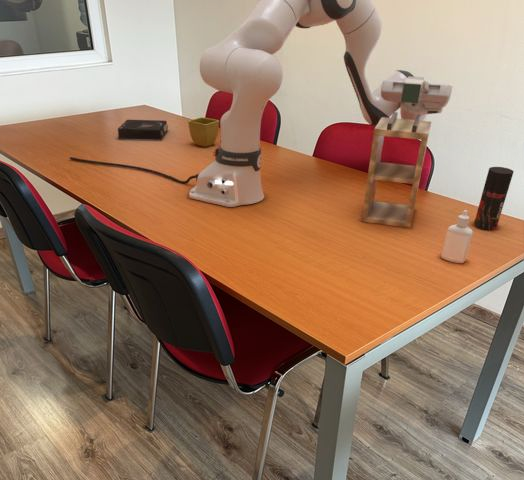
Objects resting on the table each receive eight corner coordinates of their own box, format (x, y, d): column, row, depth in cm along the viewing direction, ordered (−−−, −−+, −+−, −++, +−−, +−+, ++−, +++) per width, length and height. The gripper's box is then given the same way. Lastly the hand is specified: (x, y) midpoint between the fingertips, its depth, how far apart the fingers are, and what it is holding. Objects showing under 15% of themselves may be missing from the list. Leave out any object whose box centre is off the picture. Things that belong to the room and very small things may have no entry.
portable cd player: (161, 140, 205) (160, 130, 203) (119, 139, 205) (117, 128, 203) (168, 130, 219) (167, 120, 216) (128, 129, 219) (127, 119, 216)
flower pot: (220, 144, 202) (219, 120, 197) (206, 149, 196) (205, 124, 191) (202, 141, 206) (201, 117, 201) (188, 145, 200) (187, 121, 195)
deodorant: (494, 231, 137) (511, 175, 128) (471, 226, 140) (486, 170, 131) (498, 224, 141) (515, 169, 132) (476, 220, 144) (491, 165, 135)
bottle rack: (361, 221, 141) (375, 122, 126) (368, 204, 152) (382, 111, 137) (409, 228, 138) (429, 127, 123) (413, 210, 149) (432, 115, 134)
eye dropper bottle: (454, 265, 120) (467, 216, 113) (437, 256, 124) (449, 208, 117) (468, 262, 122) (482, 213, 115) (451, 253, 126) (463, 205, 119)
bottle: (418, 103, 134) (421, 84, 131) (400, 101, 135) (403, 83, 132) (423, 90, 149) (426, 73, 147) (407, 89, 151) (410, 71, 148)
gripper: (383, 86, 161) (381, 67, 147) (451, 92, 156) (455, 72, 143) (379, 107, 162) (377, 90, 148) (446, 113, 157) (450, 95, 143)
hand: (416, 81), depth 145 cm, fingers closed on bottle, 2 cm apart
